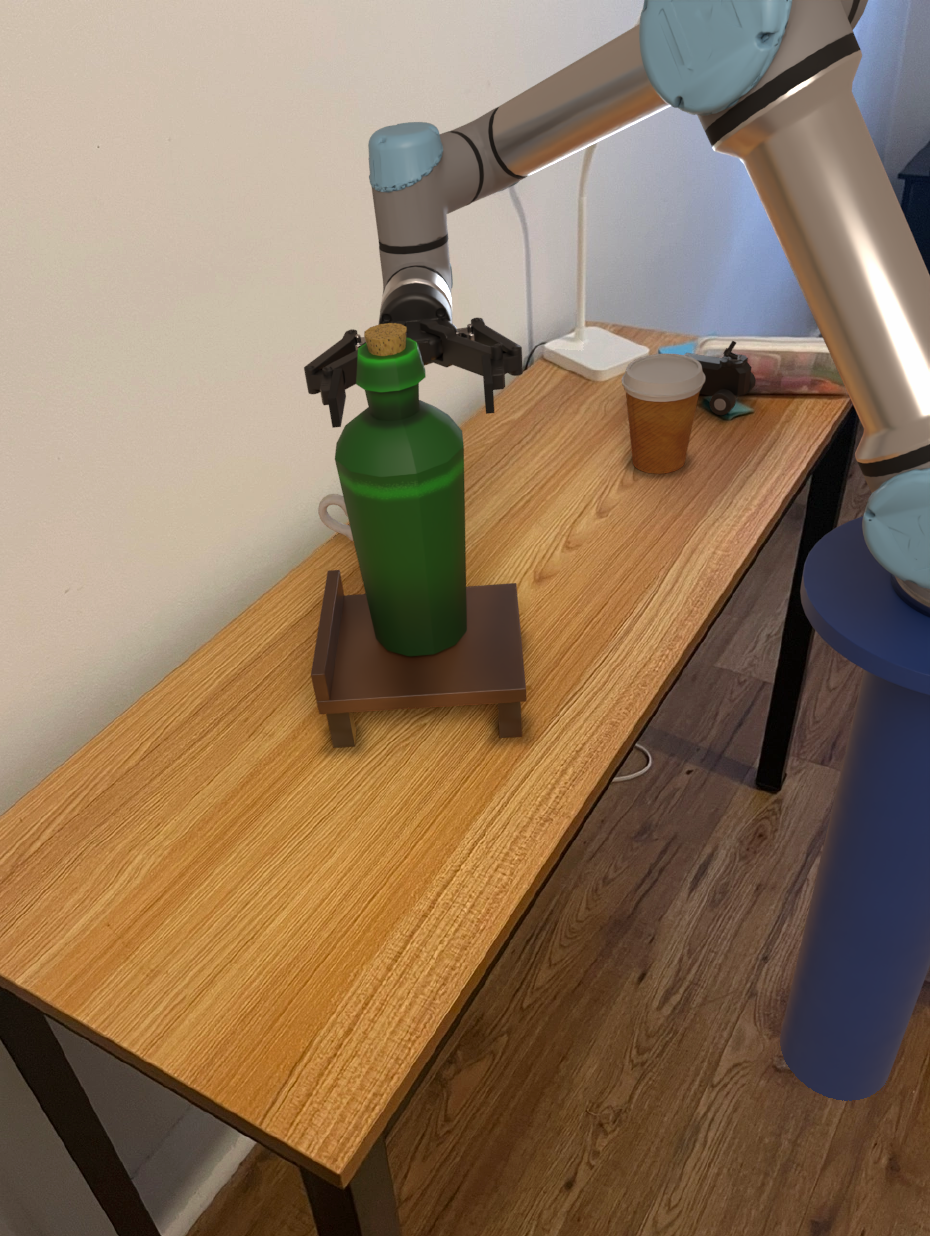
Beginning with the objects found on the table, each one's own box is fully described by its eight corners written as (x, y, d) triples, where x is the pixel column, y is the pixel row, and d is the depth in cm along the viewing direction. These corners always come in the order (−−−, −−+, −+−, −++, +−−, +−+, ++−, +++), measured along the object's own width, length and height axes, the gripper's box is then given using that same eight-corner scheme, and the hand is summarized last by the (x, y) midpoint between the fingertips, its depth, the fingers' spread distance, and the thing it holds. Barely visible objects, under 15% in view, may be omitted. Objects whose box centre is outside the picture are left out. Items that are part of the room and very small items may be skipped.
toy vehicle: (731, 421, 132) (738, 355, 126) (626, 401, 140) (628, 338, 134) (756, 396, 137) (764, 331, 131) (653, 378, 144) (656, 316, 139)
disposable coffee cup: (690, 440, 129) (697, 348, 121) (705, 477, 122) (714, 380, 114) (614, 447, 130) (616, 356, 122) (625, 484, 123) (628, 389, 115)
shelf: (518, 632, 102) (514, 556, 96) (528, 740, 90) (524, 660, 84) (341, 644, 104) (327, 570, 98) (327, 752, 92) (310, 674, 86)
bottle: (459, 588, 99) (433, 295, 81) (495, 650, 91) (475, 341, 73) (353, 614, 97) (302, 322, 79) (379, 680, 89) (330, 371, 71)
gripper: (538, 342, 106) (555, 433, 90) (303, 365, 109) (278, 457, 92) (536, 268, 102) (554, 350, 85) (290, 293, 104) (262, 378, 88)
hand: (411, 406), depth 89 cm, fingers open, 13 cm apart
